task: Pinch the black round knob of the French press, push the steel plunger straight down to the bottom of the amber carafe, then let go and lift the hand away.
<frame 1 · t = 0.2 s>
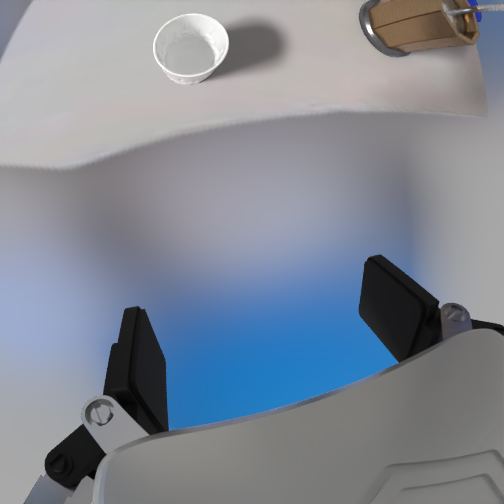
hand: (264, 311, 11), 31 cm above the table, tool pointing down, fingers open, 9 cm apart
mug: (436, 14, 32), on the table
plunger: (495, 7, 12), point 24 cm above the table, slide at 0.0 cm
white cup: (188, 63, 31), on the table
carafe: (386, 27, 33), on the table
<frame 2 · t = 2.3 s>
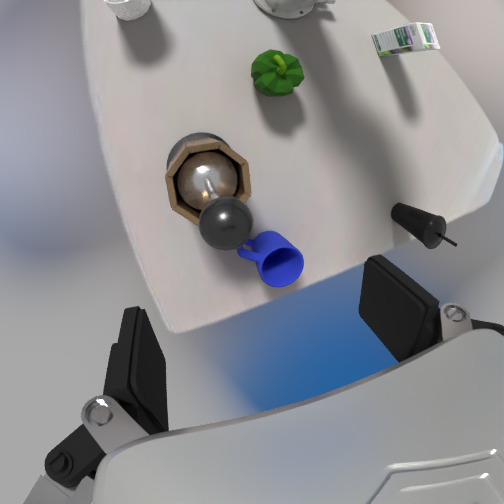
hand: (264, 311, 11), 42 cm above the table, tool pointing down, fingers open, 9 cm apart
bell pepper: (267, 77, 44), on the table
drinking cup: (397, 211, 63), on the table
mug: (258, 241, 58), on the table
plunger: (215, 198, 27), point 24 cm above the table, slide at 0.0 cm
white cup: (132, 6, 32), on the table
carafe: (200, 165, 48), on the table
syrup box: (383, 44, 44), on the table
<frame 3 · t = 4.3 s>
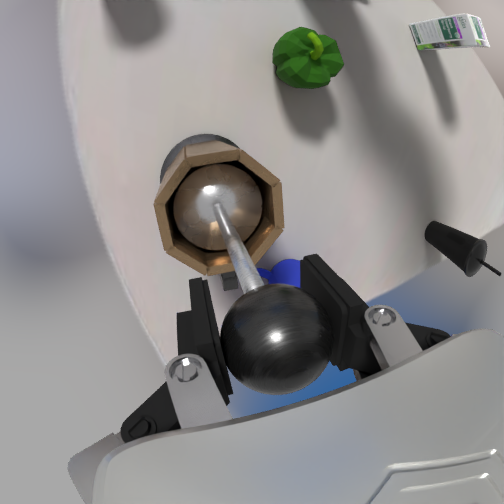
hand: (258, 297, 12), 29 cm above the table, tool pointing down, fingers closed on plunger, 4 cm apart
bell pepper: (292, 65, 33), on the table
drinking cup: (431, 231, 52), on the table
mug: (276, 271, 47), on the table
plunger: (237, 252, 16), point 24 cm above the table, slide at 0.0 cm, touching gripper
carafe: (204, 177, 37), on the table
syrup box: (421, 37, 33), on the table
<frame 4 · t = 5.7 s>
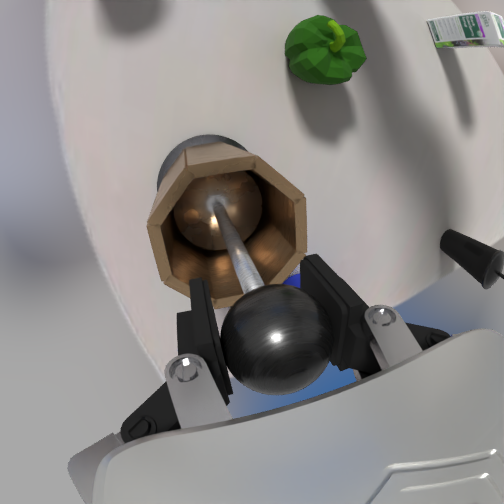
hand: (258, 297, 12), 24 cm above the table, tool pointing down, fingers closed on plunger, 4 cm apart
bell pepper: (306, 59, 29), on the table
drinking cup: (446, 239, 48), on the table
plunger: (237, 252, 16), point 19 cm above the table, slide at 4.8 cm, touching gripper
carafe: (207, 183, 33), on the table
syrup box: (438, 34, 29), on the table
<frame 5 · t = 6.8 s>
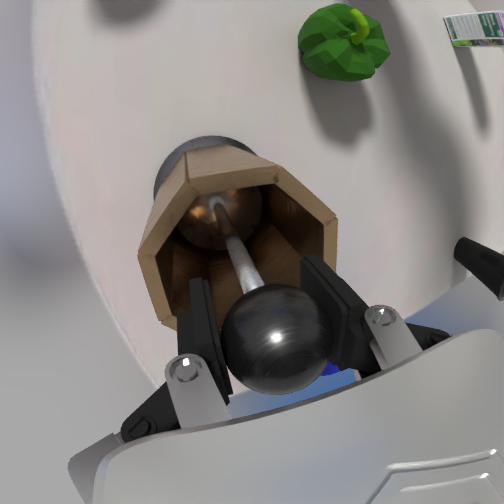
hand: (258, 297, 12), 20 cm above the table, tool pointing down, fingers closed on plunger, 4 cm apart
bell pepper: (320, 52, 25), on the table
drinking cup: (460, 248, 44), on the table
plunger: (237, 252, 16), point 15 cm above the table, slide at 9.0 cm, touching gripper
carafe: (211, 191, 29), on the table
syrup box: (455, 32, 25), on the table
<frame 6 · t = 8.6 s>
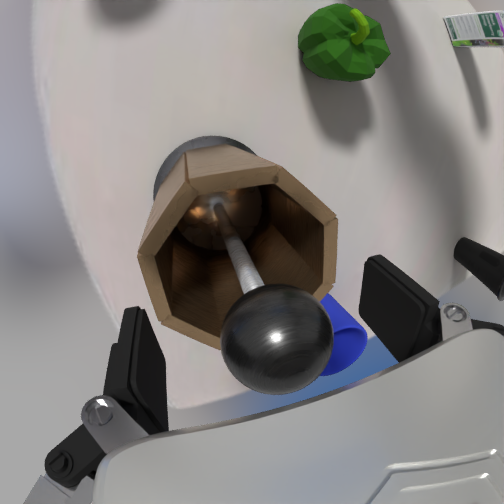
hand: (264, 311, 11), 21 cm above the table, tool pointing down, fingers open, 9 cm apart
bell pepper: (320, 52, 25), on the table
drinking cup: (460, 248, 44), on the table
mug: (295, 302, 39), on the table
plunger: (237, 252, 16), point 15 cm above the table, slide at 9.0 cm
carafe: (211, 191, 29), on the table
syrup box: (455, 32, 25), on the table
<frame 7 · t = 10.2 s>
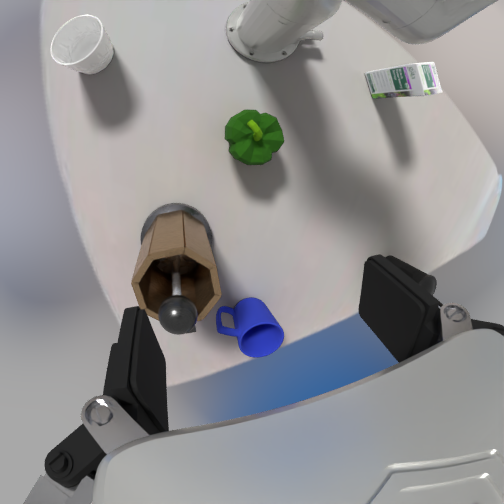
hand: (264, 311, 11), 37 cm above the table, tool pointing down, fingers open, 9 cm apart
bell pepper: (245, 136, 44), on the table
drinking cup: (386, 264, 62), on the table
mug: (239, 307, 56), on the table
plunger: (176, 280, 34), point 15 cm above the table, slide at 9.0 cm
white cup: (95, 56, 31), on the table
carafe: (176, 237, 47), on the table
syrup box: (377, 83, 44), on the table
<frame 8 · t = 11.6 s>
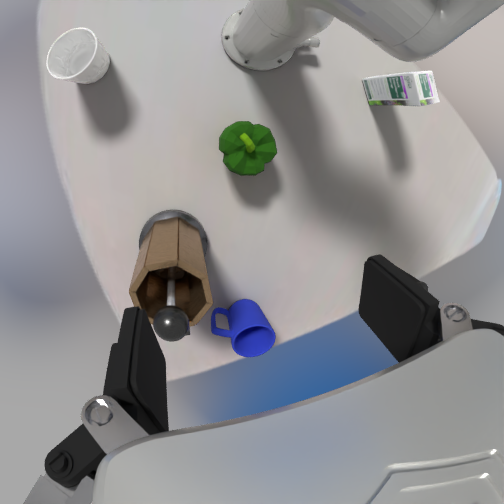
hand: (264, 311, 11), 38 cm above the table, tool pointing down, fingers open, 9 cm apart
bell pepper: (240, 144, 45), on the table
mug: (234, 307, 58), on the table
plunger: (171, 288, 36), point 15 cm above the table, slide at 9.0 cm
white cup: (91, 65, 32), on the table
carafe: (173, 242, 49), on the table
syrup box: (375, 89, 45), on the table
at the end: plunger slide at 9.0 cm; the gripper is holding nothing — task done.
